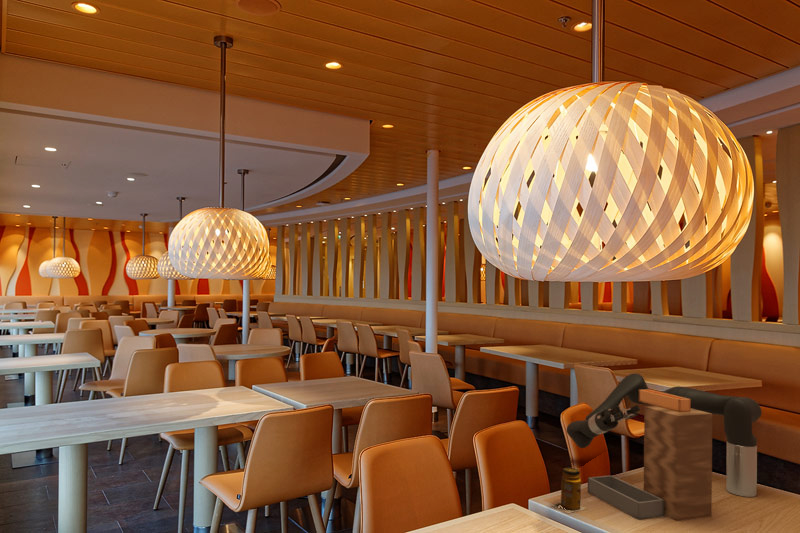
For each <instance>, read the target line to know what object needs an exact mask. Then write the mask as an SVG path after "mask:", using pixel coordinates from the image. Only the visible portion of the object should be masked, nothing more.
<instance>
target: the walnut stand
mask: <svg viewBox="0 0 800 533" xmlns="http://www.w3.org/2000/svg"><path fill="white" fill-rule="evenodd" d="M643 420H644V423H643V426H644V428H643V429H644V430H643V431H644V432H643V439H644V440H643V490H644V491H646V492H648V493H650V494H653V495H655V496H657V497H659V498H661V499H663V500H665V501H664V516H665V517H668V518H669V519H672V520H674V521H676V522H679V521H680V522H681V521H686V520H692V519H693V520H695V519H699V518H702V519H703V518H706V517H707V518H708V517H712V512H713V511H712V504H713V502H712V501H713V499H712V498H713V496H712V494H713V493H712V492H713V491H712V489H713V485H712V484H713V472H712V471H713V414H711V413H707V412H703V411H700V410H696V409H692V408H691V412H676V411H673V410H669V409H665V408H662V407H658V406H654V405H646V406H644V419H643Z"/></svg>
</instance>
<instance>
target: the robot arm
mask: <svg viewBox="0 0 800 533" xmlns="http://www.w3.org/2000/svg"><path fill="white" fill-rule="evenodd" d="M645 389H650V388H649V386H648V385H647V383H646V380H645V379H644V377H643V376H642V375H641V374H639V373H636V372H635V373H630V374H628V375H626V376H625V377H624V378H622V380H620V382H619V383H617V385H616V387H615V388H614V389H613V390H612V391H611V393H610V394H609V395H608V396H607V397H606V398H605V399H604V401H603V402H602V403H600V404H599V405H598V406H597V407H596V408H595V409H593V410H592V411H591V412H590V413H589V414H588V415H587V416H585V419H581V420H574V421H572V422H570V423H569V424H568V425H567V426H566V433H567V435H568V436H569V437H570V439H572V441H573V443H574V444H575V445H576V447H578V448H580V449H584V448H585V449H586V448H588V447H589V446H590V445H591V443H592V442H593V441H594V438H596V437H598V436H599V435H602V434H606V433H608V432H609V431H611V430H614V429H616V428H617V426H619V422H621V421H623V420H627V421H628V420H630V419H632V418H634V417H637V416H638V412H640V411H641V409H640V406H639V405H646V406H651V405H650V404H647V403H643V402H639V390H645ZM650 390H652V389H650ZM654 391H656V390H654ZM657 391H658V392H662V393H667V394H671V395H675V396H679V397H683V398H688V399H691V408H692V409H696V410H700V411H703V412H707V413H711V414H712V415H721V416H723V427H724V428H723V429H724V435H725V438H726V481H725V482H726V486H725V487H726V488H725V489H726V491H727V492H728V493H730V494H733V495H737V496H741V497H747V498H748V497H749V498H750V497H753V498H754V497H757V491H758V490H757V482H758V479H757V478H758V477H757V476H758V468H757V467H758V463H757V462H758V444H757V443H758V439H757V437H756V436H755V435H754V433H753V423H755V422H757V421H758V420H759V419H760V418H761V417H762V410H763V409H762V408H761V406H760V404H759V403H758V402H757V401H755V399H753V398H750V397H747V396H734V395H733V396H730V395H724V394H723V395H722V394H717V393H713V392H710V391H704V390H700V389H697V388H692V387H691V388H690V387H685V386H679V385H678V386H673V387H670V388H668V389H666V390H662V391H661V390H660V391H659V390H657ZM625 397H626V398H627V399H628V400H629V401H630V402H632V403H634V404H636V405H633V406H632V407H628V408H622V409H621V407H620V404H621V403H622V401H623V400H624V399H625ZM638 404H639V405H638Z"/></svg>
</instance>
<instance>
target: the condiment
mask: <svg viewBox="0 0 800 533" xmlns="http://www.w3.org/2000/svg"><path fill="white" fill-rule="evenodd" d="M580 476H581V471H580V470H579V469H578V468H575V467H564V468H563V469H562V476H561V479H560V480H561V482H560V483H561V484H560V485H561V487H560V490H561V492H560V502H558V503H555V504H554V503H553V504H551V505H550V506H551V507H553V508H555V509H557V510H559V511H562V512H563V513H567V514H570V513H575V512H579V511H583V510H586V509H587V508H586V507H584V506H582V505H581V496H582V495H581V494H582V492H581V491H582V480H581V477H580ZM559 505H561V506H562V507H563V509H562V508H561V507H560V508H558V506H559ZM564 508H565V509H566V510H565V509H564ZM569 510H570V511H569Z"/></svg>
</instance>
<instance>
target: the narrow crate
mask: <svg viewBox="0 0 800 533" xmlns="http://www.w3.org/2000/svg"><path fill="white" fill-rule="evenodd" d="M658 391H659V390H655V391H654V390H653V389H651V390H650V388H649V389H645V390H639V402H643V403H647V404H650V405H649V406H658V407H662V408H665V409H669V410H673V411H676V412H691V399H688V398H683V397H679V396H675V395H671V394H667V393H662V392H658Z"/></svg>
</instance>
